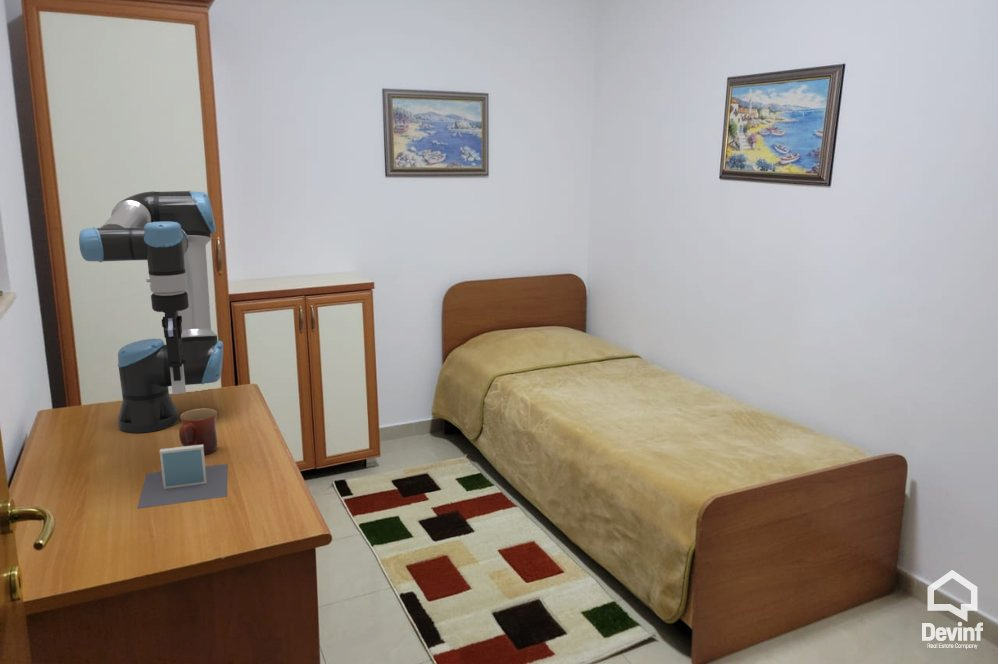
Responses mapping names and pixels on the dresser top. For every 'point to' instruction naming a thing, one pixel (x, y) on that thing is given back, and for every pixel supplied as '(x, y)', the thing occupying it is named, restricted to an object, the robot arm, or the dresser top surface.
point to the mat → (184, 488)
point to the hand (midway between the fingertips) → (179, 392)
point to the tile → (183, 466)
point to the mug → (199, 429)
